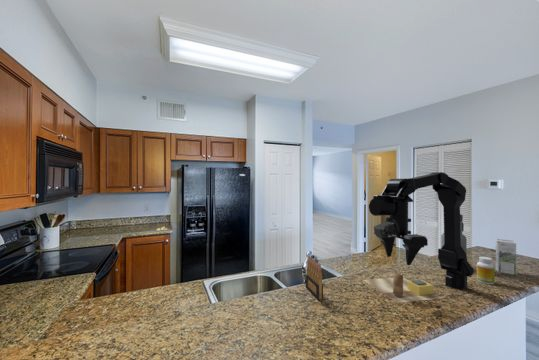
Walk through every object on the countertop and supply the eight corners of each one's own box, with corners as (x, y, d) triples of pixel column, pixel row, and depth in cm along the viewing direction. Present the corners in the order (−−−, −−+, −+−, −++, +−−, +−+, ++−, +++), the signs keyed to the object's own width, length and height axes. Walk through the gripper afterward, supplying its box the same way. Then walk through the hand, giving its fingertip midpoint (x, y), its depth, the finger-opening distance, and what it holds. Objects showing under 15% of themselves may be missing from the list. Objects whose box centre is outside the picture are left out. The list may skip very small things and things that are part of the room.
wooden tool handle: (398, 293, 86) (398, 273, 86) (405, 297, 83) (405, 276, 83) (391, 294, 85) (391, 273, 85) (397, 298, 82) (397, 276, 82)
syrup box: (512, 271, 112) (512, 239, 112) (516, 275, 107) (516, 242, 107) (495, 269, 115) (495, 238, 115) (498, 273, 110) (498, 240, 110)
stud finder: (421, 287, 90) (421, 278, 90) (433, 293, 86) (433, 283, 86) (407, 289, 89) (407, 279, 89) (418, 295, 84) (418, 285, 84)
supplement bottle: (495, 285, 96) (495, 260, 96) (477, 282, 99) (477, 258, 99) (493, 281, 100) (493, 257, 100) (476, 278, 103) (476, 255, 103)
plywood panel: (402, 279, 101) (402, 276, 101) (443, 301, 82) (443, 298, 82) (362, 282, 97) (362, 279, 97) (397, 306, 79) (397, 302, 79)
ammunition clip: (323, 300, 82) (323, 264, 82) (318, 300, 81) (318, 264, 82) (310, 287, 92) (310, 255, 92) (305, 287, 92) (305, 255, 92)
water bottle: (444, 261, 125) (444, 206, 125) (468, 266, 118) (468, 208, 118) (438, 266, 118) (438, 208, 119) (464, 271, 111) (464, 209, 111)
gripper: (361, 212, 92) (361, 254, 91) (398, 219, 73) (397, 271, 73) (387, 211, 94) (387, 252, 94) (429, 218, 76) (428, 269, 76)
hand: (398, 260), depth 84 cm, fingers open, 9 cm apart
